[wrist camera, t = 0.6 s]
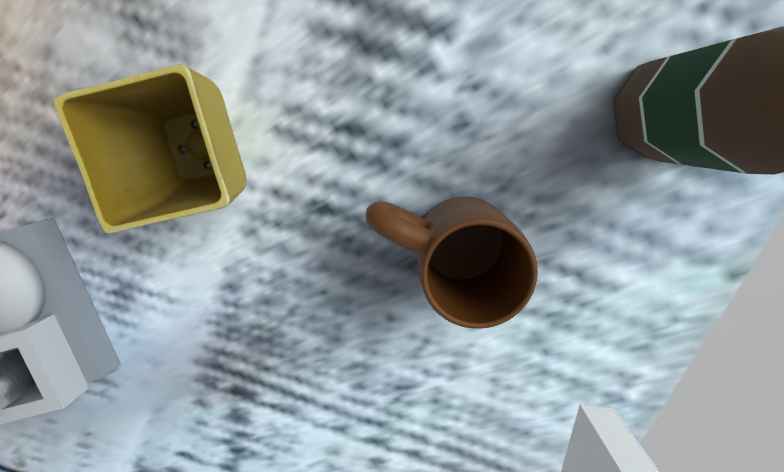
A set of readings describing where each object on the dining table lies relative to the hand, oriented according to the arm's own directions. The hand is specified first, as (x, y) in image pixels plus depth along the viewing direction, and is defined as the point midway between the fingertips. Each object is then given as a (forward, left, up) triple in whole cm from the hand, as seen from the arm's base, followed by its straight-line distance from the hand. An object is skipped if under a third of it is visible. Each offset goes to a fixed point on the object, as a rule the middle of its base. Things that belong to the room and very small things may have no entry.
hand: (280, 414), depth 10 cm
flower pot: (-8, -12, -28) cm, 32 cm away
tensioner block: (+1, -31, -28) cm, 42 cm away
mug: (+3, +5, -28) cm, 29 cm away
